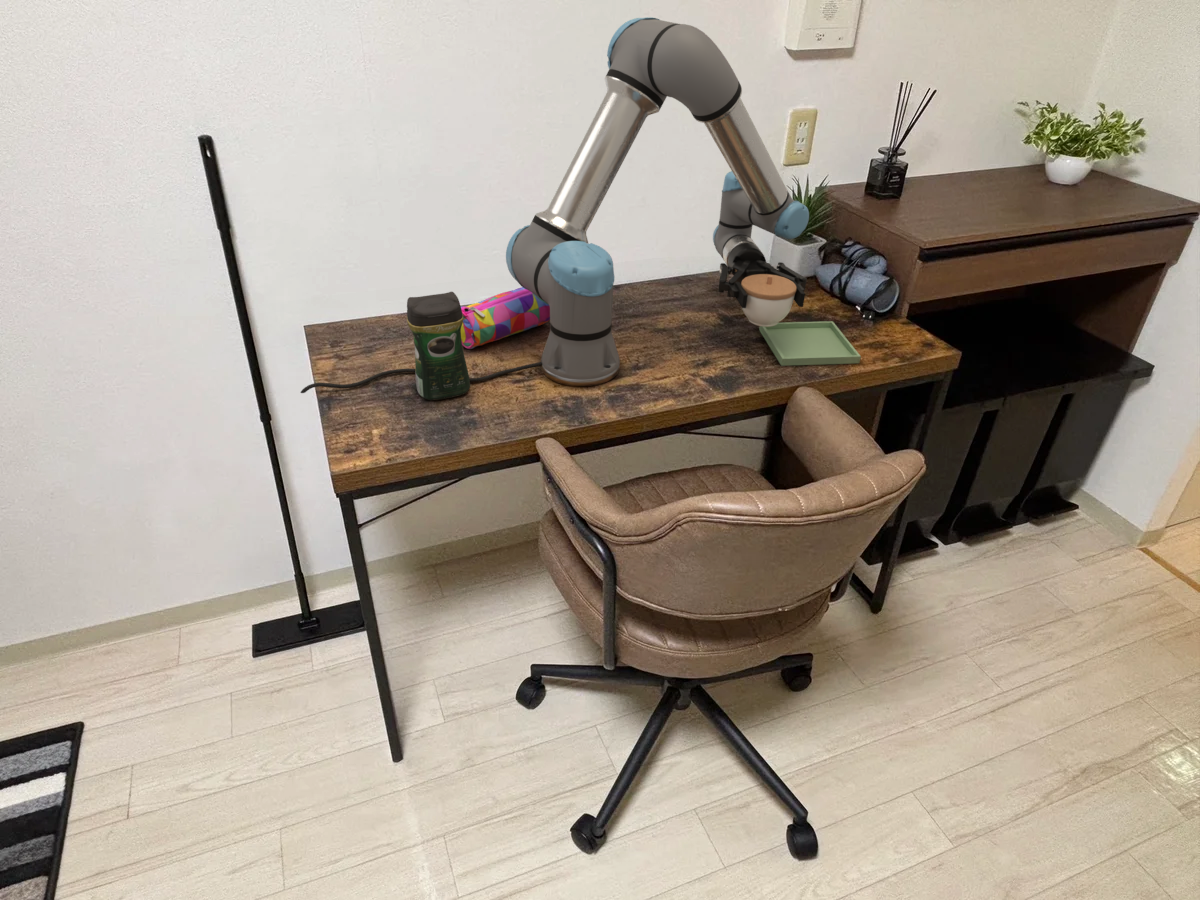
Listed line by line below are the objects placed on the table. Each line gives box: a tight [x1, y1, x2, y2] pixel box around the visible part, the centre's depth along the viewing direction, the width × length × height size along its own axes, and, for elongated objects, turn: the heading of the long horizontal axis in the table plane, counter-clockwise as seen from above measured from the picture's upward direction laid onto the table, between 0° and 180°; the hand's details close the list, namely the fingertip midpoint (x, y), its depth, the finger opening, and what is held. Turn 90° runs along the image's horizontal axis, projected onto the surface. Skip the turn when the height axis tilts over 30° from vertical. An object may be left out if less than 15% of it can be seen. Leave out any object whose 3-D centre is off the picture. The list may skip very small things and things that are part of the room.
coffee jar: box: [406, 291, 471, 401], centre depth 137 cm, size 10×8×19 cm
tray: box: [758, 321, 862, 367], centre depth 160 cm, size 16×16×2 cm
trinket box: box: [741, 274, 796, 327], centre depth 154 cm, size 11×11×9 cm
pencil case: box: [460, 286, 550, 350], centre depth 159 cm, size 22×9×9 cm, turn 132°
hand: (773, 301), depth 149 cm, fingers closed on trinket box, 11 cm apart
